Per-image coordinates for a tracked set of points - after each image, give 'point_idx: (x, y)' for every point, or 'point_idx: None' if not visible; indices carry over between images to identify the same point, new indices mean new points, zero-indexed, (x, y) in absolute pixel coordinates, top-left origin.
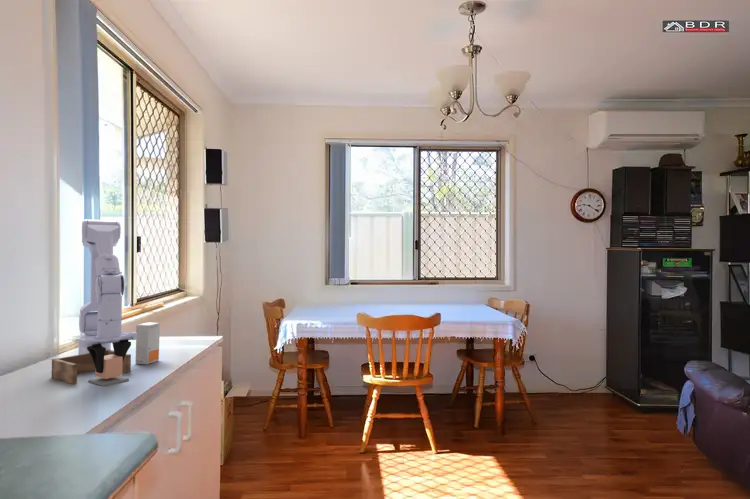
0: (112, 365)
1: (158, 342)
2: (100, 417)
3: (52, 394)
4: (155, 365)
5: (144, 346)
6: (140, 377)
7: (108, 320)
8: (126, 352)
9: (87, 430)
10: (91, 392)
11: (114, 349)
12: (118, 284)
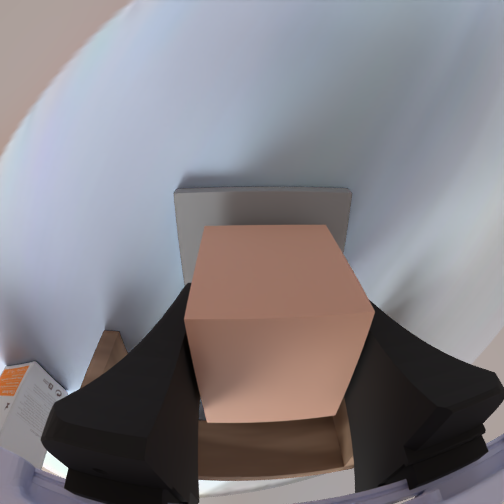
0: (295, 272)
1: None
2: None
3: (493, 246)
4: (12, 333)
5: (19, 423)
6: (97, 205)
7: None
8: (122, 360)
9: None
10: (441, 136)
11: (196, 447)
12: None
